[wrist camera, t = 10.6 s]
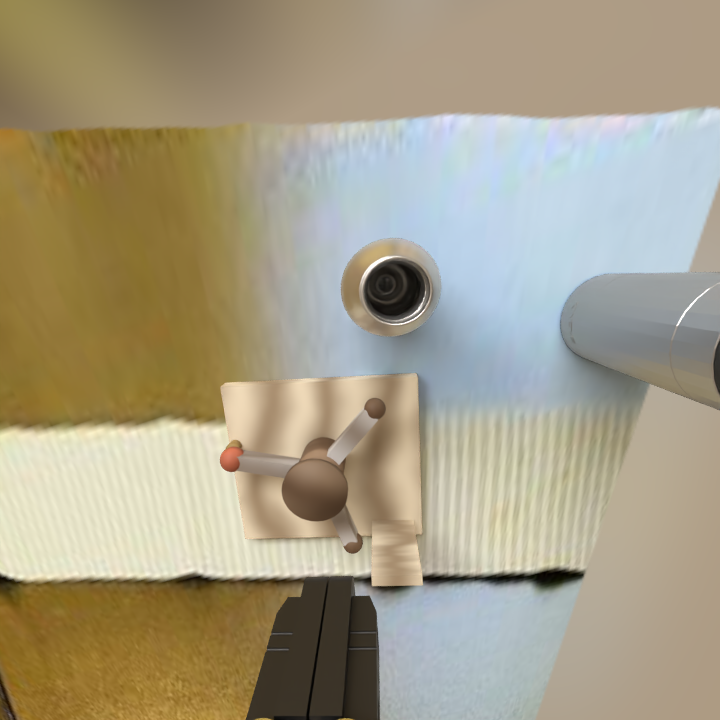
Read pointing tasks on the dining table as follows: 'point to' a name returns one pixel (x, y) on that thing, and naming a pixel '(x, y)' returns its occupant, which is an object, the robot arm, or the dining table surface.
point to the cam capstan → (314, 474)
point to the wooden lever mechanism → (362, 467)
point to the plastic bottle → (391, 287)
